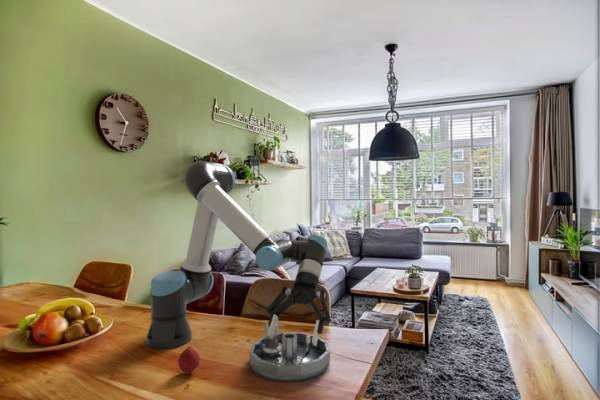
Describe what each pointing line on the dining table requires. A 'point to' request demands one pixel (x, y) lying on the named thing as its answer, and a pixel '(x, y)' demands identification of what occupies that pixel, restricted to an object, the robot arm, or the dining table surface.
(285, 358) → the planet gear
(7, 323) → the dining table surface
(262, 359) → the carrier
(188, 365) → the onion
